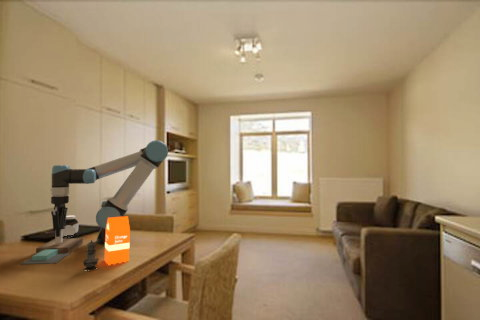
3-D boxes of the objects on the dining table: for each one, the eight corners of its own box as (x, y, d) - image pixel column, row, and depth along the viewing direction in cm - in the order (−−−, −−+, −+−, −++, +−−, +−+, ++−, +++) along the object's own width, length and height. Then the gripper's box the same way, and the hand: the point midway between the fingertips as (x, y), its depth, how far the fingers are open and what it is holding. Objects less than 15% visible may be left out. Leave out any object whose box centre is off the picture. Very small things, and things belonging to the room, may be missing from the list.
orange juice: (104, 260, 125) (105, 216, 125) (124, 257, 130) (126, 214, 131) (108, 265, 118) (109, 219, 119) (129, 261, 124) (130, 217, 124)
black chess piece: (87, 272, 110) (88, 242, 110) (79, 269, 113) (80, 240, 113) (101, 268, 115) (102, 239, 115) (93, 265, 118) (94, 237, 118)
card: (58, 253, 132) (58, 249, 132) (47, 260, 123) (47, 255, 123) (44, 253, 131) (44, 249, 131) (32, 260, 122) (32, 256, 122)
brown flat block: (82, 243, 151) (82, 238, 151) (67, 253, 133) (68, 247, 134) (54, 244, 149) (54, 238, 149) (36, 254, 131) (36, 248, 131)
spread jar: (71, 232, 176) (72, 214, 176) (84, 234, 171) (84, 216, 172) (52, 236, 165) (53, 217, 165) (65, 239, 160) (66, 219, 161)
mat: (70, 253, 134) (70, 252, 134) (56, 263, 120) (56, 262, 120) (38, 254, 131) (38, 253, 131) (20, 264, 117) (20, 263, 117)
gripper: (57, 194, 144) (56, 239, 143) (45, 197, 131) (44, 246, 131) (73, 194, 146) (72, 238, 145) (62, 196, 133) (61, 245, 132)
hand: (58, 242), depth 138 cm, fingers closed
